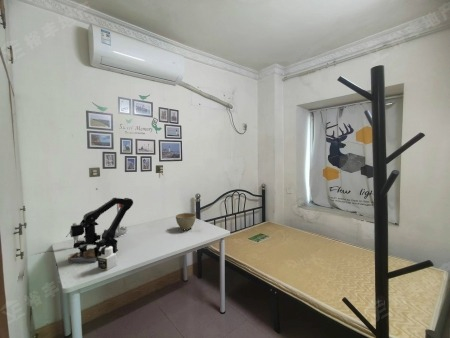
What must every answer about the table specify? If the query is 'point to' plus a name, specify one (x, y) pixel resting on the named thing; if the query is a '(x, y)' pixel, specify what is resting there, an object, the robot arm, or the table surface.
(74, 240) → the human figurine
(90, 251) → the brown block
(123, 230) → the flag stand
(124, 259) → the table surface
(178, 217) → the flower pot
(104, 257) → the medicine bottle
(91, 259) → the bay
